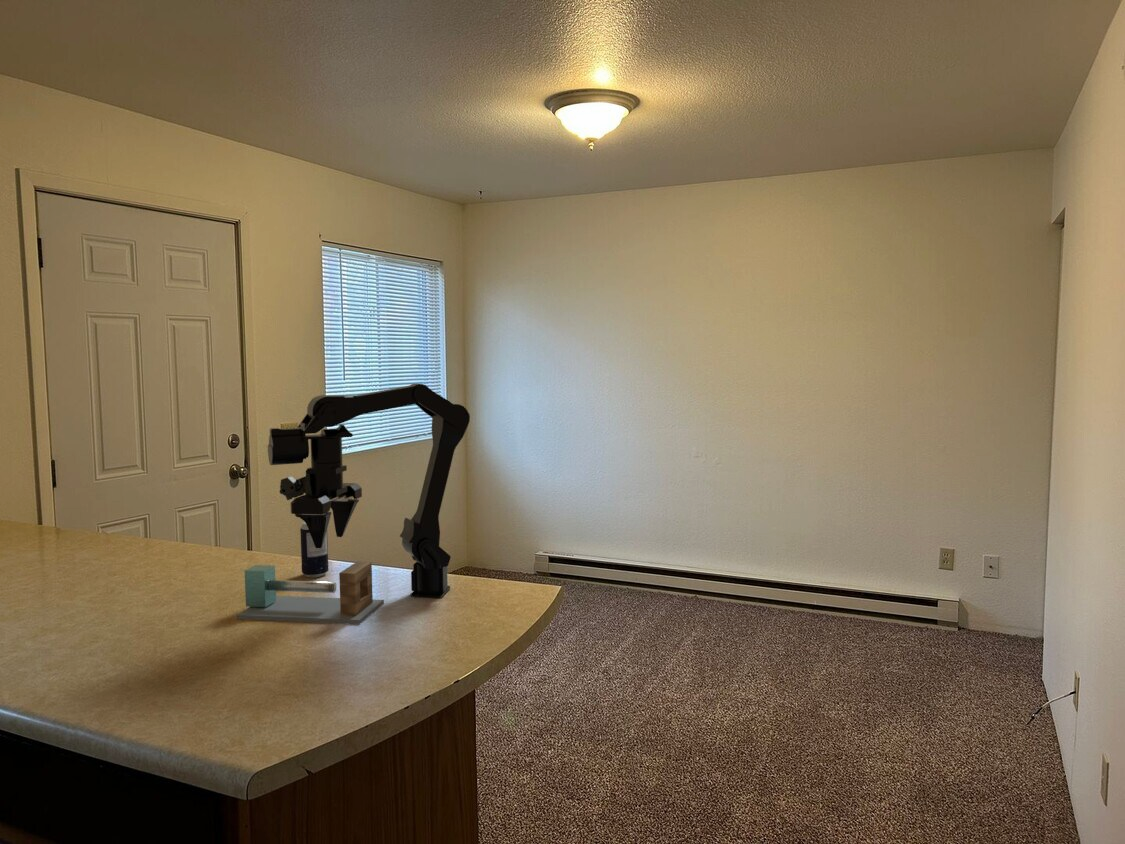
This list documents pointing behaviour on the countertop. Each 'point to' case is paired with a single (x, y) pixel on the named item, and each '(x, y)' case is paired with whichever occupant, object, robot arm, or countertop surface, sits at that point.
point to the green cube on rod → (276, 586)
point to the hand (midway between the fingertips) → (329, 542)
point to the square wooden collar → (355, 588)
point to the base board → (307, 610)
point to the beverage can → (313, 554)
